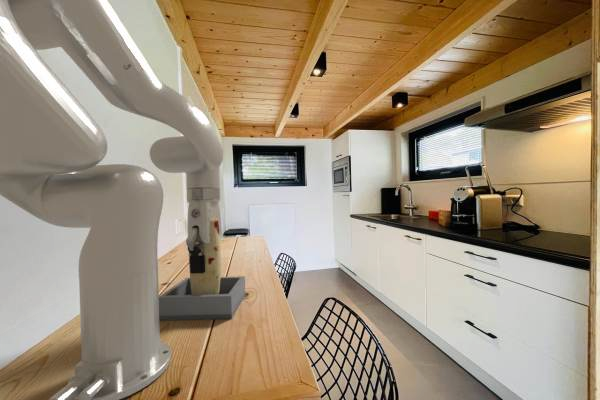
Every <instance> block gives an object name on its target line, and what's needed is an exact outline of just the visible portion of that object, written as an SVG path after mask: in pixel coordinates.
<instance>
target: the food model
mask: <svg viewBox="0 0 600 400" xmlns="http://www.w3.org/2000/svg"><path fill="white" fill-rule="evenodd" d="M195 242H202V240H201V237H200V235H199V234H198V236H197V238H196V240H195ZM210 242H211V243H210V244H206V243H204V252H203V255H205V272H204V273H197V274H191V273H190V272H189V278H190V284H191V292H192V295H216V294H219V290H220V279H221V277H222V266H221V265H222V263H221V262H222V260H221V259H222V257H221V238H220V234H219V221H218V218H217V217H213V218H212V219H211V221H210ZM198 248H199V249H200V246H198ZM188 265H189V268H190V256H189V255H188Z"/></svg>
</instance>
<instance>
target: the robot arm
mask: <svg viewBox="0 0 600 400" xmlns="http://www.w3.org/2000/svg"><path fill="white" fill-rule="evenodd" d="M56 48H61V49H62V50H63V51H64V52H65V53H66V55H68V56H69V58H70V59H71V60H72V61H73V62H74V64H76V66H77V67H78V68H79V69H80V70H81V71H82V73H83V74H84V75H85V76H86V77H87V78H88V79H89V80H90V82H91V83H92V85H94V86H95V88H96V89H97V90H98V91H99V92H100V94H101V95H102V96H103V97H104V99H106V100H107V102H108V103H109V104H111V105H112V106H114V107H116V108H118V109H120V110H122V111H125V112H128V113H131V114H135V115H137V116H140V117H143V118H147V119H151V120H153V121H157V122H160V123H162V124H164V125H166V126H169V127H170V128H173V129H174V130H175V131H177V132H179V134H182V135H181V136H170V137H163V138H159V139H157V140H156V141H154V142H153V143H152V144H151V146H150V148H149V158H150V161H151V162H152V164H153V165H154V167H156V168H157V169H158V170H160V171H162V172H165V173H168V174H169V173H171V174H179V173H185V175H186V178H185V181H186V203H188V208H187V227H186V228H187V237H186V239H185V243H186V246H187V251H188V257H189V256H190V267H189V274H190V273H191V274H197V273H204V272H205V255H203V252H204V243H206V244H210V243H211V242H210V221H211V219H212V218H213V217H217V218H218V221H219V234H220V239H222V236H223V231H222V230H223V229H222V219H221V218H222V217H221V215H222V214H221V207H220V202H221V186H220V185H221V184H220V179H221V178H220V177H221V176H220V166H221V165H222V163H223V160H224V150H223V147H222V144H221V142H220V139H219V137H218V135H217V133H216V130H215V129H214V127H213V125H212V123H211V122H210V120H209V119H208V117H207V116H206V115H205V113H204V112H203V111H202V110H201V109H200V108H199V107H197V105H196V104H193V102H191V101H190V100H189V99H187V98H186V96H184V95H182V94H181V93H179V92H178V91H177V90H175V89H173V88H172V87H170V86H169V85H167V84H165V83H164V82H163V81H162V80H161V79H160V78H159V77H158V76H157V74H156V73H155V72H154V69H153V68H152V66H151V65H150V64H149V62H148V60H147V59H146V57H145V55H144V54H143V52H142V51H141V50H140V48H139V46H138V44H137V43H136V42H135V40H134V38H133V36H132V35H131V33H130V32H129V30H128V29H127V27H126V25H125V24H124V22H123V20H122V19H121V17H120V16H119V14H118V13H117V10H115V8H114V6H113V4H112V3H111V1H110V0H0V196H1V197H3V198H4V199H6V200H8V201H9V202H11V203H13V204H14V205H16V206H17V207H18V208H20V209H22V210H23V211H25V212H26V213H28V214H30V215H32V216H34V217H35V218H37V219H39V220H41V221H42V222H45V223H48V224H49V225H53V226H56V227H62V228H71V229H73V228H75V229H78V228H80V229H85V228H86V229H89V228H90V229H89V232H88V234H87V236H86V238H85V240H84V243H83V245H82V247H81V250H80V253H79V258H78V279H79V280H78V282H79V284H78V285H79V289H78V290H79V315H80V317H79V318H80V348H81V349H80V350H81V353H80V354H81V361H79V362H77V363H76V364H75V365H74V373H73V375H72V376H71V377H70V379H69V380H68V382H67V385H65V386H64V387H62V388H61V389H60V390H58V391H57V392H56V393H55V394H54V395H52V396H51V397H50V398H48V399H47V400H121V399H122V400H123V399H124V398H126V397H129V396H131V395H134V394H135V393H137V392H139V391H141V390H142V389H144V388H145V387H147V386H149V385H150V384H151V383H153V382H155V381H156V380H157V379H158V378H159V377H160V376H161V375H162V374H163V373H164V372H165V370H167V368H168V366H169V365H170V363H171V360H172V349H171V347H170V345H169V344H168V343H166V342H164V341H161V338H160V337H161V336H160V335H161V333H160V331H161V330H160V327H161V326H160V320H159V296H160V295H159V290H160V289H159V265H158V264H159V262H158V239H159V237H158V236H159V227H160V220H161V215H162V212H163V211H162V210H163V206H164V205H163V204H164V190H163V185H162V184H161V182H160V180H159V179H158V177H157V176H156V175H155V174H154V173H152V172H151V171H149V170H148V169H146V168H145V167H141V166H138V165H133V164H125V163H124V164H123V163H122V164H121V163H120V164H119V163H118V164H117V163H115V164H114V163H113V164H99V163H100V162H102V161H103V160H104V159H105V157H106V156H107V153H108V141H107V137H106V136H105V134H104V132H103V130H102V128H101V127H100V125H99V124H98V122H97V121H96V120H95V119H94V118H93V116H92V115H91V113H90V112H88V110H86V108H85V107H84V106H83V105H82V104H81V102H80V101H79V100H78V99H77V98H76V97H75V95H74V94H73V93H72V92H71V91H70V89H69V87H67V86H66V85H65V83H64V82H63V81H62V80H61V79H60V78H59V76H58V75H57V74H56V73H55V72H54V71H53V69H52V68H51V67H50V66H49V65H48V64H47V63H46V62H45V60H44V59H43V58H42V57H41V55H40V54H39V53H38V51H40V50H41V51H45V50H50V49H56ZM198 234H199V235H200V237H201V240H202V242H195V240H196V238H197V236H198ZM198 246H200V249H199V248H198Z"/></svg>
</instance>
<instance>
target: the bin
mask: <svg viewBox="0 0 600 400" xmlns="http://www.w3.org/2000/svg"><path fill="white" fill-rule="evenodd" d="M245 296H246V276H244V275H243V276H241V275H240V276H239V275H237V276H221V279H220V290H219V294H216V295H192V292H191V284H190V277H185V278H184V279H182V280H180V282H178V283H176V284H175V285H174V286H173V287H171V288H169V289H168V290H166V291H165V292H164V293H162V294H161V295H159V321H186V320H189V321H192V320H194V321H195V320H199V321H200V320H233V317H234V316H235V314H236V312H237V310H238V309H239V307H240V306H241V303H242V302H243V300H244V298H245Z"/></svg>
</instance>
